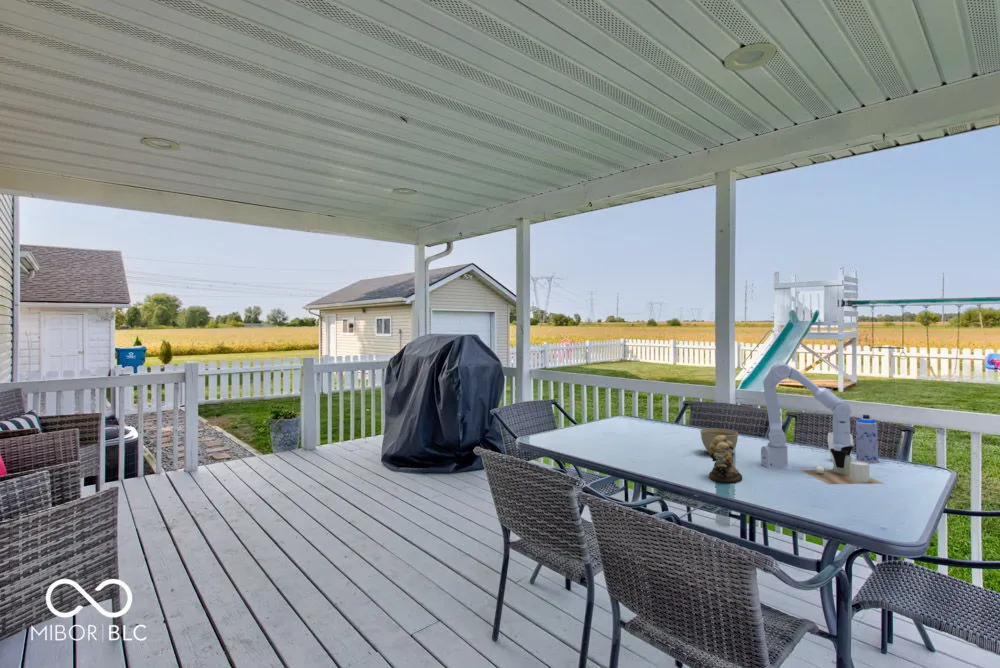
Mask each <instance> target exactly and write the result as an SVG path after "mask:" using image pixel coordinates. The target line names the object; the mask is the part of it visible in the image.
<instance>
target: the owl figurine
mask: <svg viewBox="0 0 1000 668" xmlns="http://www.w3.org/2000/svg"><path fill="white" fill-rule="evenodd" d="M709 449H710V454H709V455H710V458H711V459H712V462H714V464H713V467H712V470H711V471H710V472H709V473H708V477H709V480H711V481H713V482H717V483H725V484H729V485H730V484H731V485H732V484H733V483H734V484H737V483H740V482H742V480H743V474H741V473H740V472H739V470H738V468H736V466H735V464H734V462H735V461H734V456H735V453H736V452H735V448H734V447H733V443H732V442H731V441H727V438H726V436H724V435H719V436H716V437H715V438H714V439H713V440H712V443H711V444H710V446H709Z"/></svg>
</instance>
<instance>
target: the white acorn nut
mask: <svg viewBox="0 0 1000 668" xmlns="http://www.w3.org/2000/svg"><path fill="white" fill-rule="evenodd" d="M870 478H871V475H870V463H866V462H862V461H857V460H852V461H850V480H853V481H855V482H861V483H869V482H870Z"/></svg>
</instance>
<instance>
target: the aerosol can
mask: <svg viewBox="0 0 1000 668" xmlns="http://www.w3.org/2000/svg"><path fill="white" fill-rule="evenodd" d="M878 437H879V436H878V422H876V420H875V419H872V418H871V417H870V414H862V417H860V418H858V419H857V420H856V421H855V443H856V446H855V448H856V449H855V451H856V459H855V461H862V462H866V463H869V464H879V463H880V461H879V438H878Z"/></svg>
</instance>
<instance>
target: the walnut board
mask: <svg viewBox="0 0 1000 668" xmlns="http://www.w3.org/2000/svg"><path fill="white" fill-rule="evenodd" d="M800 471H801V473H802V472H803V473H804V474H806V475H808V476H810V477H813V478H815V479H817V480H819V481H821V482H823V483H825V484H827V485H873V484H874V485H876V484H880V485H881V484H883V485H885V482H882V481H879V480H877V479H874V478H873V477H870V482H869V483H861V482H855V481H853V480H850V474H841V473H837V472H834V469H825V472H824V473H823V474H819V473H817V472H816V469H813V470H812V469H808V470H807V469H805V470H804V469H803V470H801V469H800Z"/></svg>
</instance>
